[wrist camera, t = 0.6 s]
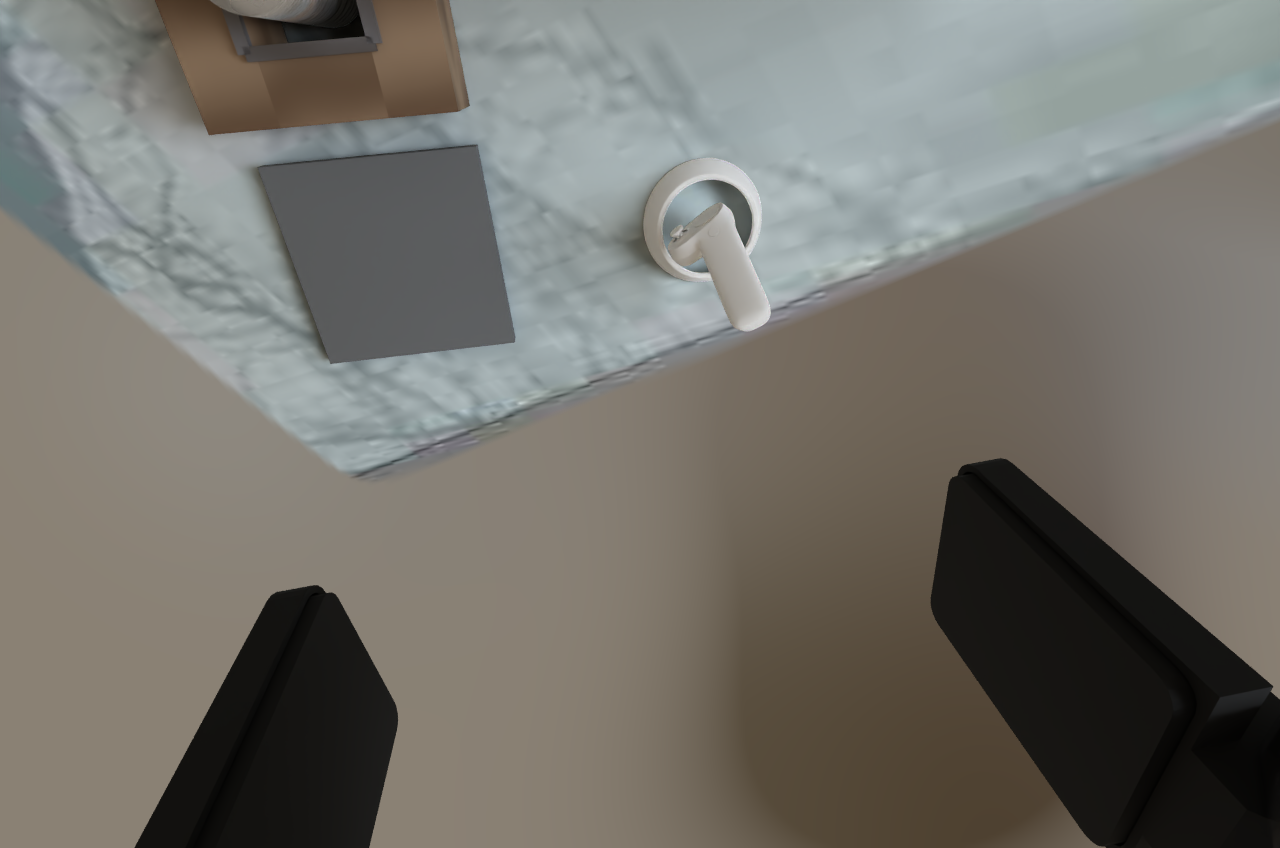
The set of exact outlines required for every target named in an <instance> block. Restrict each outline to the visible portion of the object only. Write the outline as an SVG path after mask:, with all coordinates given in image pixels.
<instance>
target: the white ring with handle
mask: <svg viewBox="0 0 1280 848" xmlns="http://www.w3.org/2000/svg"><path fill="white" fill-rule="evenodd" d="M704 180H719V181H724V182H726V183H728V184H730V185H732V186H734V187H735V188H736V189H738V190H739V191H740V192H741V193H742V194H743V196H744V197H745V198H746V200H747V202H748V204H749V206H750V210H751V213H752V229H751V233H750V236H749V239H748V242H747V244H746V246H745V247H744V245H743V243H742V240H741V238H740V236H739V234H738V232H737V229H736V227H735V219H734V216H733V214H732V211H731V210H730V209H729V208H728V207H726V206H725V205H724V204H723V203H717V204H714V205H712V206H711V207H709V208H707V209H706V210H705V211H703V212H702V213H701V214H700V215H699V216H697V217H696V218H695V219H694V220H693V221H692V222H690V223H689V224H688V225H687V226H686V227H684V228H683V226H682V225H679V226H677V227H676V228H674V229H673V230H672V232H671V233H670V236H671V237H674V238H673V239H672V240H671V242H670V243H669V245H668V251H669V253H670V254H669V253H668V251H667V249H666V246H665V244H664V239H663V222H664V217H665V214H666V211H667V209H668V207H669V205H670V204H671V202H672V200H673V199H674V198H675V197H676V196H677V195H678V194H679V192H680V191H682V190H683V189H685V188H686V187H687V186H689V185H691V184H694V183H696V182H699V181H704ZM761 222H762V208H761V201H760V198H759V195H758V191H757V190H756V188H755V186H754V184H753V182H752V181H751V179H750V178H749V177H748V176H747V175H746V174H745V172H743V171H742V170H741V169H739V168H738V167H737V166H735V165H733V164H731V163H729V162H727V161H725V160H720V159H715V158H699V159H694V160H690V161H687V162H685V163H682V164H680V165H678V166H676V167H675V168H673V169H672V170H671V171H669V172H668V173H667V174H666V175H665V176H664V177H663V178H662V179H661V180H660V181H659V182H658V183H657V185H656V186H655V188H654V189H653V191H652V193H651V194H650V197H649V199H648V202H647V204H646V208H645V213H644V218H643V231H644V236H645V242H646V244H647V247H648V249H649V252H650V254H651V255H652V257H653V258H654V260H655V261H656V263H657V264H658V265H659V266H660V267H661V268H662V269H663V270H665V271H666V272H668V273H669V274H671V275H672V276H674V277H677V278H679V279H682V280H686V281H692V282H707V281H711V280H713V282H714V285H715V287H716V290H717V292H718V295H719V297H720V299H721V302H722V304H723V307H724V309H725V312H726V314H727V316H728V318H729V320H730V323H731V324H732V325H733V327H735V328H736V329H739V330H741V331H751V330H754V329H756V328H758V327H760V326H762V325H764V324H765V323H766V322H767V321H768V320H769V317H770V315H771V311H770V305H769V302H768V299H767V297H766V294H765V292H764V289H763V287H762V285H761V283H760V281H759V278H758V276H757V274H756V272H755V269H754V267H753V265H752V263H751V260H750V258H749V255H750V253H751V252H752V251H753V249H754V246H755V244H756V242H757V240H758V237H759V234H760V230H761ZM702 257H703V258H704V261H705V263H706V266H707V268H708V270H709V272H706V273H697V272H692V271H689V270H687V269H684V268H683V267H684V266H688V265H691V264H693V263H694V262H696V261H697V260H699V259H700V258H702ZM678 264H679V265H678ZM680 265H681V266H683V267H681V266H680Z"/></svg>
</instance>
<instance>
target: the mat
mask: <svg viewBox="0 0 1280 848" xmlns="http://www.w3.org/2000/svg"><path fill="white" fill-rule="evenodd" d="M258 170H259V173H260V176H261V178H262V181H263V184H264V186H265V189H266V192H267V194H268V197H269V200H270V202H271V205H272V208H273V210H274V213H275V216H276V219H277V221H278V224H279V227H280V229H281V232H282V235H283V237H284V240H285V243H286V245H287V248H288V251H289V253H290V256H291V259H292V261H293V264H294V267H295V269H296V272H297V275H298V277H299V280H300V283H301V285H302V288H303V291H304V294H305V296H306V299H307V302H308V304H309V307H310V310H311V312H312V315H313V318H314V320H315V323H316V326H317V328H318V331H319V334H320V336H321V339H322V342H323V344H324V347H325V350H326V352H327V355H328V358H329V360H330V363H331V364H333V363H342V362H350V361H359V360H367V359H376V358H385V357H393V356H402V355H411V354H419V353H428V352H436V351H445V350H454V349H462V348H471V347H480V346H488V345H497V344H505V343H514V342H515V334H514V329H513V323H512V318H511V313H510V308H509V303H508V298H507V293H506V288H505V283H504V278H503V273H502V267H501V262H500V257H499V252H498V247H497V242H496V237H495V232H494V227H493V222H492V217H491V212H490V206H489V201H488V196H487V191H486V186H485V181H484V176H483V171H482V166H481V161H480V156H479V150H478V145H470V146H459V147H449V148H439V149H429V150H418V151H408V152H398V153H387V154H377V155H367V156H357V157H346V158H336V159H326V160H316V161H305V162H295V163H285V164H274V165H264V166H261V167H258Z"/></svg>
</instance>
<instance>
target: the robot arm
mask: <svg viewBox="0 0 1280 848" xmlns="http://www.w3.org/2000/svg"><path fill="white" fill-rule="evenodd" d="M931 608H932V612H933V615H934V617H935V620H936V621H937V623H938V625H939V626H940V628H941V629H942V630H943V632H944V633H945V635H946V636H947V637H948V639H949V641H950V642H951V643H952V645H953V646H954V648H955V649H956V650H957V652H958V653H959V655H960V656H961V658H962V659H963V661H964V662H965V663H966V665H967V666H968V668H969V669H970V670H971V672H972V674H973V675H974V676H975V678H976V679H977V681H978V682H979V684H980V685H981V686H982V688H983V689H984V691H985V692H986V694H987V695H988V696H989V698H990V699H991V701H992V702H993V704H994V705H995V707H996V708H997V709H998V711H999V712H1000V714H1001V715H1002V717H1003V718H1004V719H1005V721H1006V722H1007V724H1008V725H1009V727H1010V728H1011V729H1012V731H1013V732H1014V734H1015V735H1016V737H1017V738H1018V739H1019V741H1020V742H1021V744H1022V745H1023V747H1024V748H1025V749H1026V751H1027V752H1028V754H1029V755H1030V757H1031V758H1032V760H1033V761H1034V763H1035V764H1036V765H1037V767H1038V768H1039V770H1040V771H1041V773H1042V774H1043V775H1044V777H1045V778H1046V780H1047V781H1048V782H1049V784H1050V785H1051V787H1052V788H1053V790H1054V791H1055V793H1056V794H1057V795H1058V797H1059V798H1060V800H1061V801H1062V802H1063V804H1064V806H1065V807H1066V808H1067V810H1068V811H1069V813H1070V814H1071V816H1072V817H1073V818H1074V820H1075V821H1076V823H1077V824H1078V826H1079V827H1080V829H1081V830H1082V831H1083V832H1084V834H1085V835H1086V836H1087V837H1088V838H1089V839H1090V840H1091V841H1092V842H1093V843H1095V844H1096V845H1098V846H1105V847H1106V848H1280V699H1278V698H1277V697H1276V696H1275V695H1274V694H1273V693H1272V692H1270V691H1271V690H1272V688H1273V686H1272V685H1271V684H1270V683H1269V682H1268V681H1266V680H1265V679H1264V678H1263V677H1262V676H1261V675H1259V674H1258V673H1257V672H1256V671H1255V670H1254V669H1252V668H1251V667H1250V666H1249V665H1248V664H1246V663H1245V662H1244V661H1243V660H1242V659H1241V658H1240V657H1238V656H1237V655H1236V654H1235V653H1234V652H1233V651H1231V650H1230V649H1229V648H1228V647H1227V646H1225V645H1224V644H1223V643H1222V642H1221V641H1220V640H1218V639H1217V638H1216V637H1215V636H1214V635H1213V634H1211V633H1210V632H1209V631H1208V630H1207V629H1205V628H1204V627H1203V626H1202V625H1201V624H1200V623H1199V622H1197V621H1196V620H1195V619H1194V618H1193V617H1191V616H1190V615H1189V614H1188V613H1187V612H1186V611H1185V610H1183V609H1182V608H1181V607H1180V606H1179V605H1178V604H1176V603H1175V602H1174V601H1173V600H1171V599H1170V598H1169V597H1168V596H1167V595H1166V594H1165V593H1163V592H1162V591H1161V590H1160V589H1159V588H1158V587H1156V586H1155V585H1154V584H1153V583H1152V582H1151V581H1149V580H1148V579H1147V578H1146V577H1145V576H1144V575H1142V574H1141V573H1140V572H1139V571H1138V570H1136V569H1135V568H1134V567H1133V566H1132V565H1131V564H1130V563H1128V562H1127V561H1126V560H1125V559H1124V558H1122V557H1121V556H1120V555H1119V554H1118V553H1117V552H1115V551H1114V550H1113V549H1112V548H1111V547H1110V546H1108V545H1107V544H1106V543H1105V542H1104V541H1102V540H1101V539H1100V538H1099V537H1098V536H1097V535H1096V534H1094V533H1093V532H1092V531H1091V530H1090V529H1089V528H1087V527H1086V526H1085V525H1084V524H1083V523H1082V522H1080V521H1079V520H1078V519H1077V518H1076V517H1075V516H1073V515H1072V514H1071V513H1070V512H1069V511H1068V510H1066V509H1065V508H1064V507H1063V506H1062V505H1061V504H1059V503H1058V502H1057V501H1056V500H1055V499H1053V498H1052V497H1051V496H1050V495H1048V493H1046V492H1045V491H1044V490H1043V489H1042V488H1041V487H1039V486H1038V485H1037V484H1036V483H1035V482H1034V481H1032V480H1031V479H1030V478H1029V477H1028V476H1027V475H1025V474H1024V473H1023V472H1022V471H1021V470H1020V469H1018V468H1017V467H1016V466H1015V465H1014V464H1013V463H1011V462H1010V461H1008V460H1006V459H1001V458H1000V459H994V460H989V461H983V462H978V463H972V464H967V465H964V466H962V467H961V468H960V470H959V472H958V476H955V477H952V479H951V480H950V482H949V486H948V492H947V499H946V505H945V512H944V518H943V524H942V530H941V537H940V543H939V549H938V556H937V562H936V569H935V575H934V582H933V589H932V594H931ZM397 725H398V713H397V708H396V705H395V702H394V701H393V698H392V697H391V695H390V693H389V691H388V689H387V687H386V686H385V684H384V682H383V680H382V678H381V676H380V675H379V672H378V671H377V669H376V667H375V665H374V664H373V662H372V660H371V658H370V656H369V654H368V652H367V651H366V649H365V647H364V645H363V643H362V641H361V639H360V638H359V636H358V634H357V632H356V630H355V628H354V626H353V625H352V623H351V621H350V619H349V617H348V615H347V614H346V612H345V610H344V608H343V606H342V604H341V602H340V601H339V599H338V597H337V596H336V595H335V594H334V593H326V592H325V591H324V590H323V588H321V587H319V586H318V585H313V586H307V587H302V588H297V589H291V590H286V591H281V592H276V593H275V594H273V595H271V596H270V598H269V599H268V600H267V602H266V604H265V606H264V608H263V609H262V611H261V613H260V615H259V617H258V619H257V621H256V623H255V624H254V626H253V628H252V630H251V632H250V634H249V636H248V638H247V639H246V641H245V643H244V645H243V647H242V649H241V650H240V652H239V654H238V656H237V658H236V660H235V662H234V664H233V665H232V667H231V669H230V671H229V673H228V675H227V677H226V679H225V680H224V682H223V684H222V686H221V688H220V690H219V691H218V693H217V695H216V697H215V699H214V701H213V703H212V704H211V706H210V708H209V710H208V712H207V714H206V716H205V718H204V719H203V721H202V723H201V725H200V727H199V729H198V730H197V732H196V734H195V736H194V739H193V740H192V742H191V743H190V745H189V747H188V749H187V751H186V753H185V755H184V757H183V759H182V760H181V762H180V764H179V766H178V768H177V770H176V771H175V774H174V775H173V777H172V779H171V781H170V783H169V784H168V786H167V788H166V790H165V792H164V794H163V796H162V797H161V799H160V801H159V803H158V805H157V807H156V809H155V811H154V812H153V814H152V816H151V818H150V820H149V822H148V824H147V825H146V827H145V829H144V831H143V833H142V835H141V837H140V839H139V840H138V842H137V844H136V846H135V848H369V846H370V841H371V837H372V833H373V829H374V825H375V821H376V816H377V812H378V808H379V803H380V799H381V795H382V791H383V787H384V782H385V778H386V774H387V770H388V765H389V761H390V757H391V753H392V748H393V744H394V739H395V736H396V731H397Z"/></svg>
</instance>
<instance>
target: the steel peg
mask: <svg viewBox="0 0 1280 848" xmlns="http://www.w3.org/2000/svg"><path fill="white" fill-rule="evenodd" d="M210 1H211V2H213V3H214V4H216V5H217V6H219V7H220V8H222V9H224V10H226V11H229V12H231V13H234V14H238V15H243V16H250V17H257V18H264V19H271V20H278V21H285V22H292V23H299V24H306V25H313V26H320V27H327V28H339V27H343V26H346V25H348V24H349V23H351V22H352V21H353V20H354V19H355V18H356V17H357V15H358V14H359V10H358V6H357V2H356V0H210Z"/></svg>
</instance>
